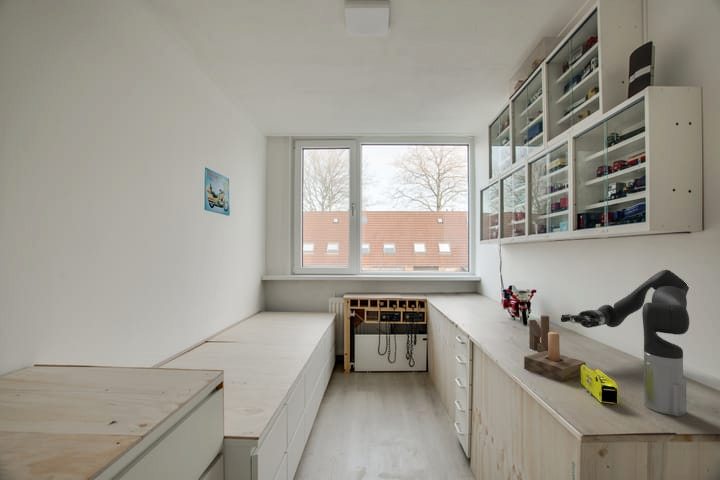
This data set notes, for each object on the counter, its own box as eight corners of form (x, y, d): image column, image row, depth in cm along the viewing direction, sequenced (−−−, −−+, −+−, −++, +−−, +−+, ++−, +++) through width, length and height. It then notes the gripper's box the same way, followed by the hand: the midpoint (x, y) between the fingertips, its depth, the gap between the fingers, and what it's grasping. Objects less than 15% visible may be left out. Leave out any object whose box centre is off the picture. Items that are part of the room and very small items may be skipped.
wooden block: (535, 347, 168) (535, 312, 168) (551, 354, 157) (551, 316, 158) (529, 347, 167) (528, 312, 167) (545, 354, 157) (544, 316, 157)
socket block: (585, 374, 132) (585, 361, 132) (563, 382, 124) (563, 368, 124) (546, 362, 146) (546, 350, 146) (524, 368, 138) (524, 356, 138)
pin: (562, 368, 135) (561, 333, 135) (556, 370, 133) (555, 335, 133) (552, 365, 138) (551, 331, 138) (546, 367, 136) (545, 333, 136)
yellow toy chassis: (579, 385, 122) (579, 362, 123) (596, 386, 121) (596, 363, 121) (599, 404, 107) (599, 379, 107) (619, 407, 106) (619, 380, 106)
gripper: (609, 330, 145) (589, 333, 137) (575, 323, 157) (555, 326, 150) (609, 312, 145) (589, 315, 137) (575, 307, 158) (555, 310, 150)
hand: (571, 321), depth 143 cm, fingers open, 8 cm apart
